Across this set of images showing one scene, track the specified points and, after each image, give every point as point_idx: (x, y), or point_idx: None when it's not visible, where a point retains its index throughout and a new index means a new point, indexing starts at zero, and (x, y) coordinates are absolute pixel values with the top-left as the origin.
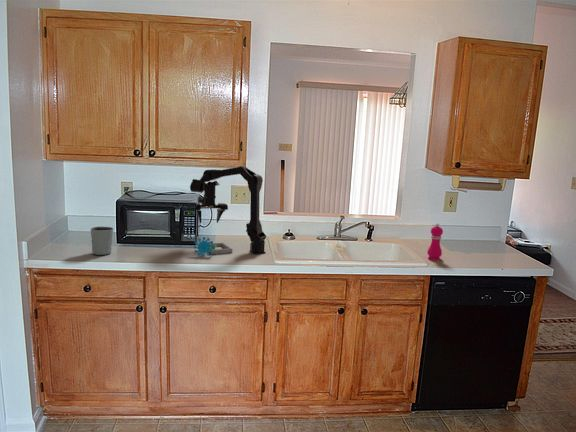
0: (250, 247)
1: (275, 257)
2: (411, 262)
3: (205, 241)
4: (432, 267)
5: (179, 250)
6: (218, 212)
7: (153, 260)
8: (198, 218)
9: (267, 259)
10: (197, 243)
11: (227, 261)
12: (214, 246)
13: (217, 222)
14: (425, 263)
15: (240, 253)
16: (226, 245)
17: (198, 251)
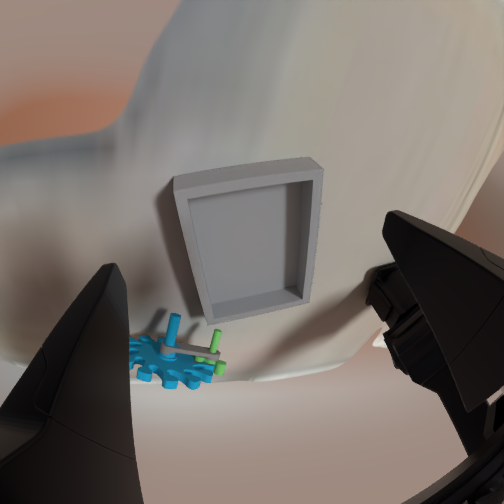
0: (377, 298)
1: None
2: None
3: (175, 376)
4: None
5: (36, 231)
6: (486, 343)
7: (17, 350)
8: (62, 318)
9: (365, 331)
10: (134, 360)
11: (243, 362)
12: (216, 365)
13: (385, 237)
14: None
15: (334, 280)
16: (311, 243)
17: (141, 343)
